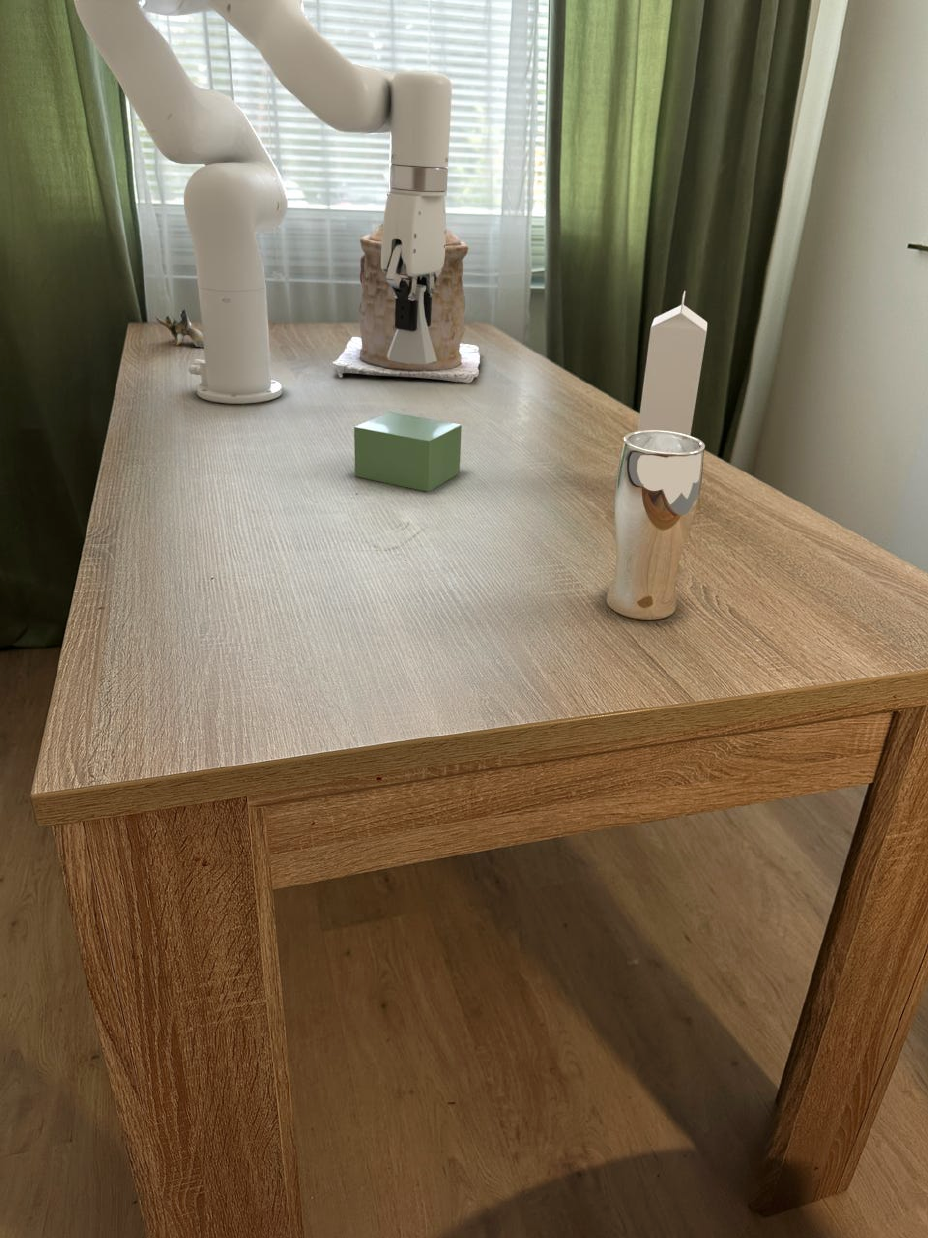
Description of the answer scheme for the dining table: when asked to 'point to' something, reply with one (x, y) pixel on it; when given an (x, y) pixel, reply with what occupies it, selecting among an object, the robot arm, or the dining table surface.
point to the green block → (407, 451)
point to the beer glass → (653, 519)
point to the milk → (672, 371)
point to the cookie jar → (380, 328)
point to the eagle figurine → (183, 329)
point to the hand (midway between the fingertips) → (413, 325)
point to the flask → (414, 338)
